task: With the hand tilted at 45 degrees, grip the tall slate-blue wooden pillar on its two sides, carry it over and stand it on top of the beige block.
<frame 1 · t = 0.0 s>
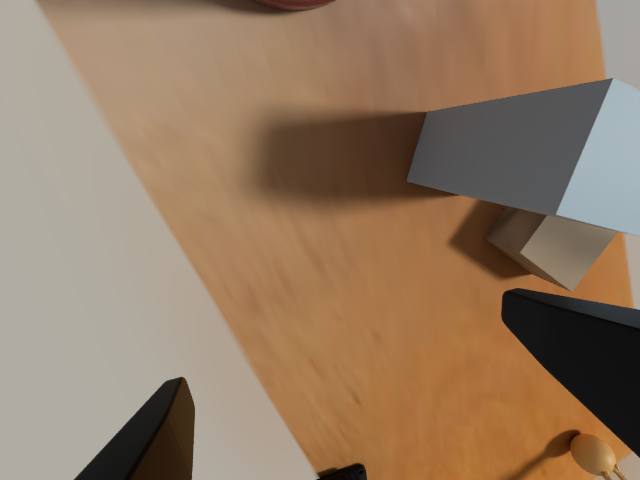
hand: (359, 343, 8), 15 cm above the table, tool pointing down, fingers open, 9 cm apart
blue pillar: (445, 155, 24), on the table
figurine: (574, 442, 39), on the table
beige block: (530, 222, 28), on the table
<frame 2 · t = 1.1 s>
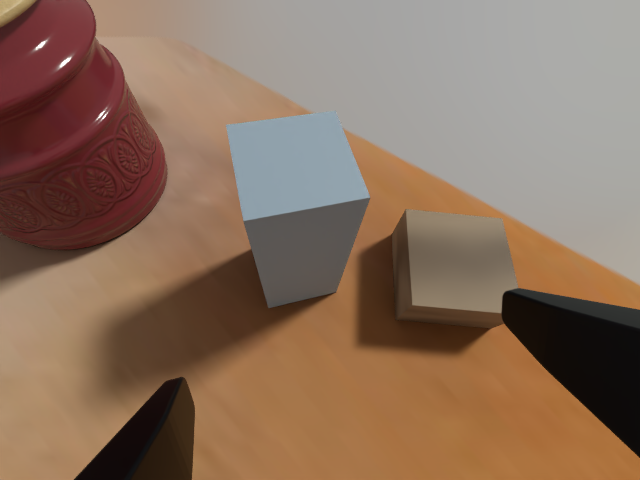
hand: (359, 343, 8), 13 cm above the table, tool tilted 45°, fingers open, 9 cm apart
canister: (91, 185, 26), on the table
blue pillar: (295, 268, 24), on the table
beige block: (437, 279, 24), on the table
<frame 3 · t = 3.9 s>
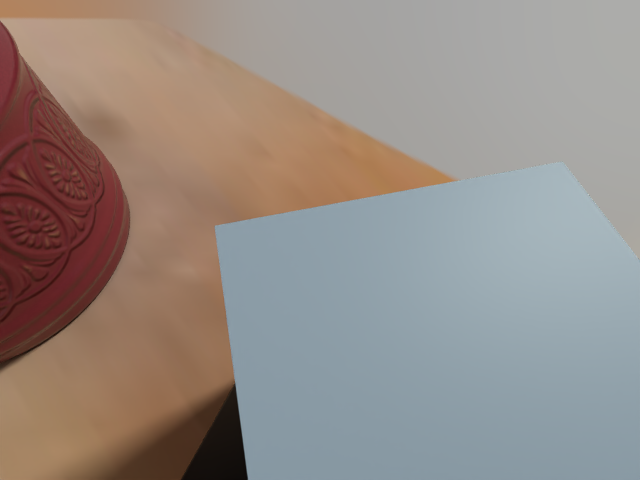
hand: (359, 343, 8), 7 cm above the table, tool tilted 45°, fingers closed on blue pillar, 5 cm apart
canister: (4, 247, 16), on the table
blue pillar: (342, 401, 14), on the table, touching gripper
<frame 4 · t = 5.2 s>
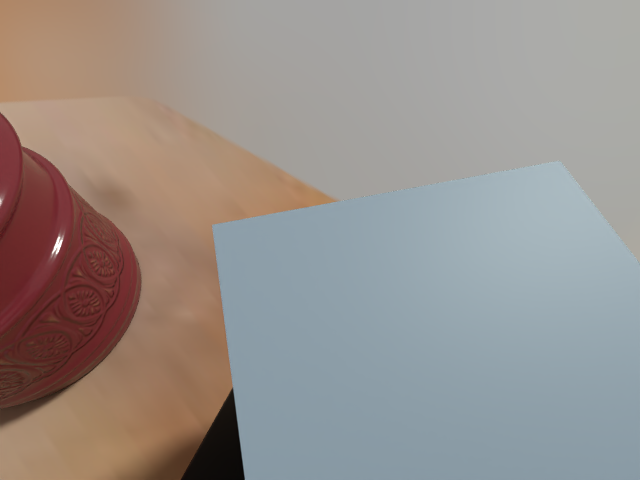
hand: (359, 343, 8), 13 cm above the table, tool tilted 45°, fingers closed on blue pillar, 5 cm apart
canister: (47, 303, 22), on the table
blue pillar: (341, 401, 14), point 7 cm above the table, touching gripper
when the fingers open (12 cm above the table, at t = 6.6 s): blue pillar drops 1 cm, resting on beige block.
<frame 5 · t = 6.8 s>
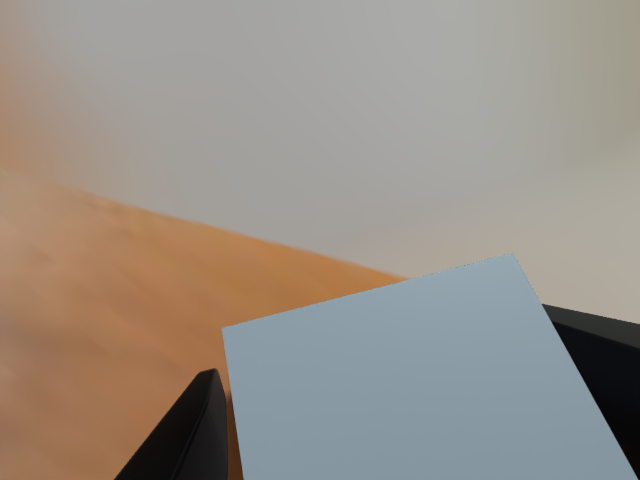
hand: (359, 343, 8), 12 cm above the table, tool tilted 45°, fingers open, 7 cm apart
blue pillar: (338, 404, 15), point 4 cm above the table, touching beige block
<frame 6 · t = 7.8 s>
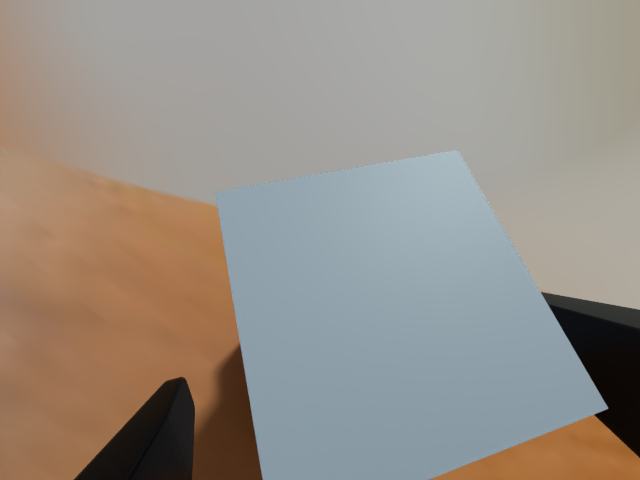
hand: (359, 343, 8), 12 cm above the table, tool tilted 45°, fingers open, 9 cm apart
blue pillar: (322, 359, 16), point 4 cm above the table
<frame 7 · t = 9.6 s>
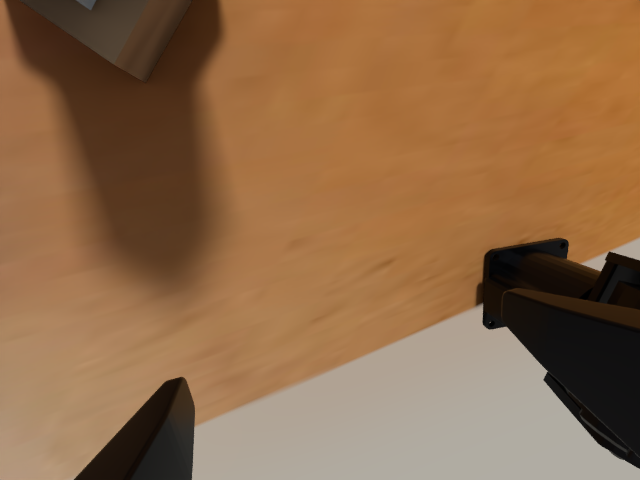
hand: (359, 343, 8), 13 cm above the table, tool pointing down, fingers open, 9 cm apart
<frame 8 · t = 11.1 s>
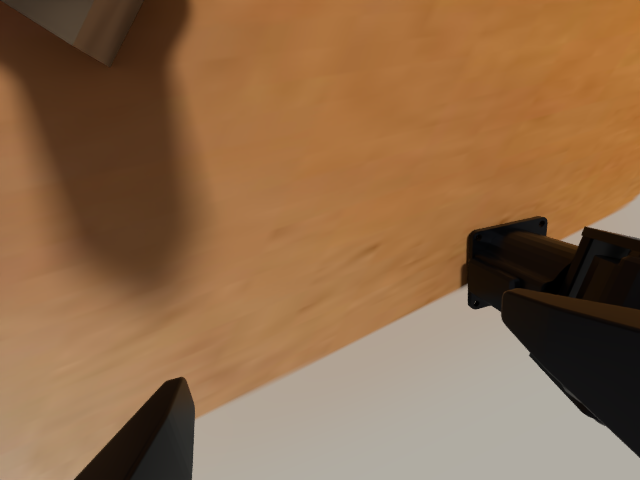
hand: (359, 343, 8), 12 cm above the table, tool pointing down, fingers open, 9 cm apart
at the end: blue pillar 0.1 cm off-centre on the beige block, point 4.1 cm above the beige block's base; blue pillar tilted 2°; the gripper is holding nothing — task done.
